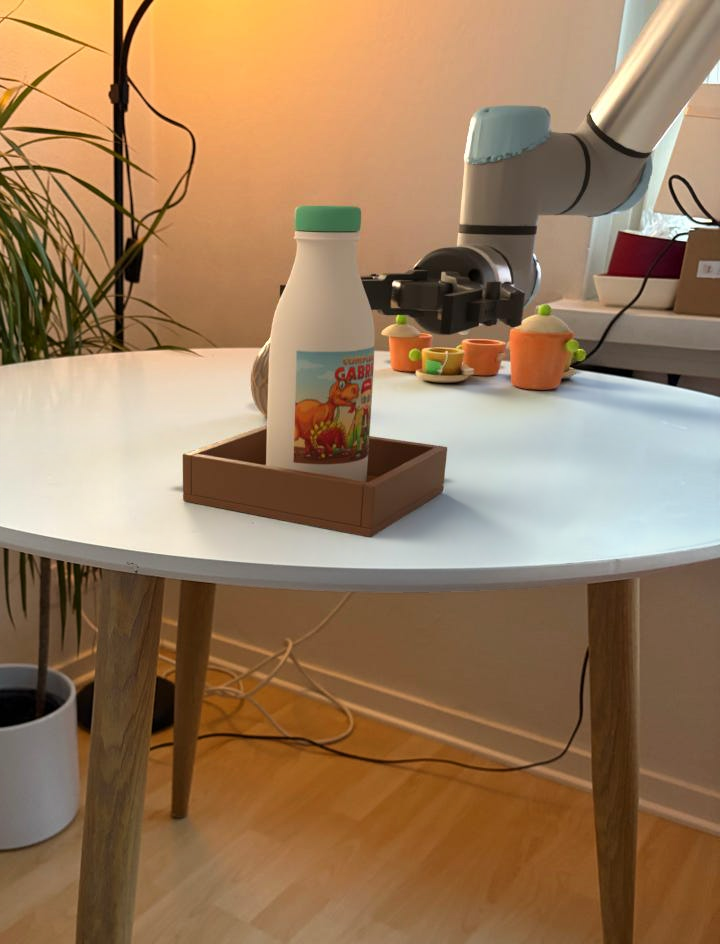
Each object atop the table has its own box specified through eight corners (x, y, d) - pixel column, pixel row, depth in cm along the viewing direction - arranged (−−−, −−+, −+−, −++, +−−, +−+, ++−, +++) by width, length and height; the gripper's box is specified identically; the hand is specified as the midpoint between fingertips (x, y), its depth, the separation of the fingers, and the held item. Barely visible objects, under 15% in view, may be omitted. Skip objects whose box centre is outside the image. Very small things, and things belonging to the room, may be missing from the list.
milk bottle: (253, 497, 74) (258, 205, 65) (280, 472, 80) (288, 204, 72) (355, 507, 72) (373, 206, 63) (373, 480, 78) (393, 206, 70)
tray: (443, 491, 78) (447, 446, 76) (370, 537, 67) (374, 486, 66) (272, 463, 85) (273, 422, 84) (182, 500, 75) (182, 454, 73)
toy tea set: (581, 374, 130) (593, 297, 126) (585, 395, 117) (598, 309, 113) (385, 363, 137) (390, 289, 133) (366, 381, 123) (372, 300, 119)
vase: (236, 414, 104) (237, 327, 100) (284, 406, 108) (287, 323, 104) (280, 425, 99) (283, 335, 96) (329, 416, 103) (333, 330, 100)
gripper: (588, 342, 87) (516, 375, 71) (335, 322, 99) (222, 346, 82) (602, 251, 84) (530, 263, 68) (339, 241, 96) (223, 249, 79)
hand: (361, 309), depth 75 cm, fingers open, 13 cm apart
